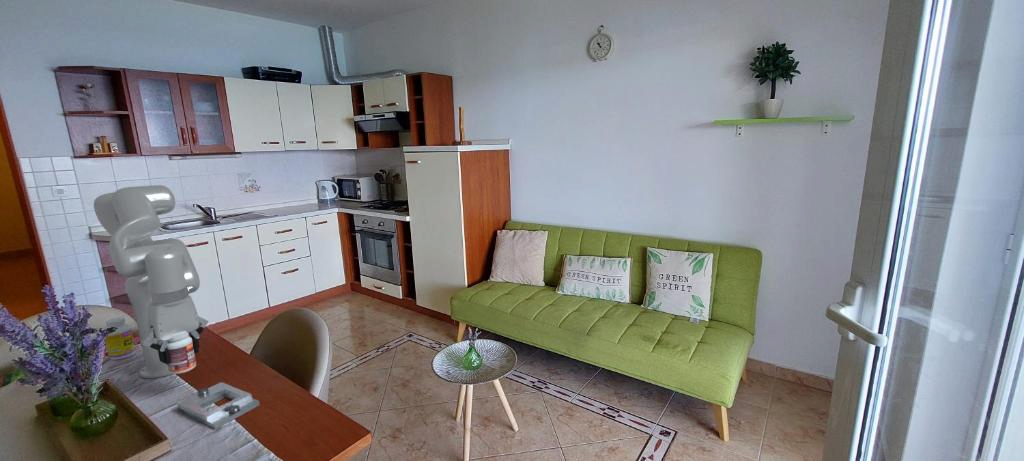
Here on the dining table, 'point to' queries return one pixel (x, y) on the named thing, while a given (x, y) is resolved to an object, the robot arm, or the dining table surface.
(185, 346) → the pill bottle
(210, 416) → the slotted white bracket
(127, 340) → the supplement bottle
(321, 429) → the dining table surface
